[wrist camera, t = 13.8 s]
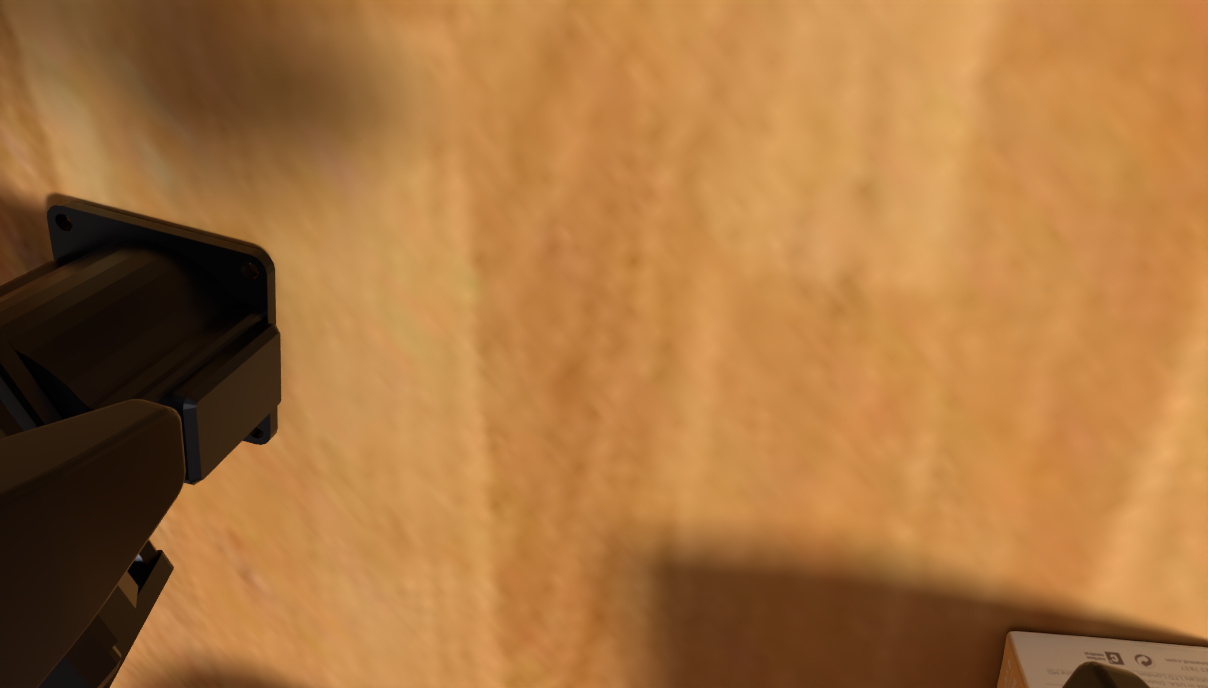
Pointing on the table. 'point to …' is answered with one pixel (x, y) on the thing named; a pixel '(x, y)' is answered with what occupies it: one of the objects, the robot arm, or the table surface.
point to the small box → (1098, 660)
